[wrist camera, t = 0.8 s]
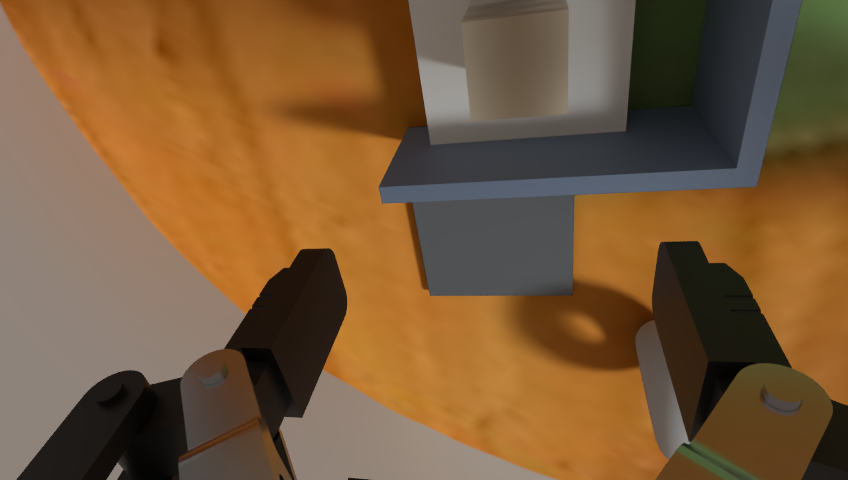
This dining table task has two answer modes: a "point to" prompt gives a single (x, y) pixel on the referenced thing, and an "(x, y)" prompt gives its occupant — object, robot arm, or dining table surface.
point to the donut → (659, 391)
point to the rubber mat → (497, 245)
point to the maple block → (516, 58)
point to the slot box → (597, 111)
